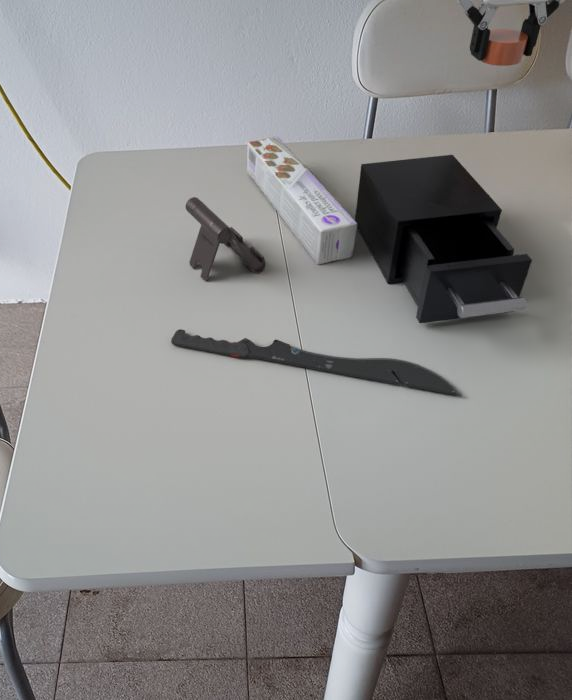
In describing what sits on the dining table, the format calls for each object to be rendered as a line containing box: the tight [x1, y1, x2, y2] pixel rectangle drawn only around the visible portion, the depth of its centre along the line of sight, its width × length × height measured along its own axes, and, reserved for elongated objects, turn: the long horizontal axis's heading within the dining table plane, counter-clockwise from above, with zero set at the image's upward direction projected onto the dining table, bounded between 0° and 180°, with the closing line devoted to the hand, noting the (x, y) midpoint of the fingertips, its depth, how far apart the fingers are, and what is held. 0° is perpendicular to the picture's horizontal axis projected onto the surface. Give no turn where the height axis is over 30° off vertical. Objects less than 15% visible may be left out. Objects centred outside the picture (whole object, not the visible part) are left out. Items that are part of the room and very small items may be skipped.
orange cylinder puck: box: [479, 28, 528, 67], centre depth 90 cm, size 6×6×3 cm
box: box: [246, 136, 358, 265], centre depth 93 cm, size 27×5×6 cm, turn 19°
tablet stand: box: [185, 196, 266, 282], centre depth 83 cm, size 9×8×8 cm
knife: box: [170, 328, 462, 396], centre depth 71 cm, size 32×4×1 cm, turn 72°
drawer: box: [396, 217, 533, 324], centre depth 75 cm, size 18×11×7 cm, turn 8°
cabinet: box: [354, 154, 503, 285], centre depth 84 cm, size 15×13×9 cm
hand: (500, 53), depth 90 cm, fingers closed on orange cylinder puck, 6 cm apart
